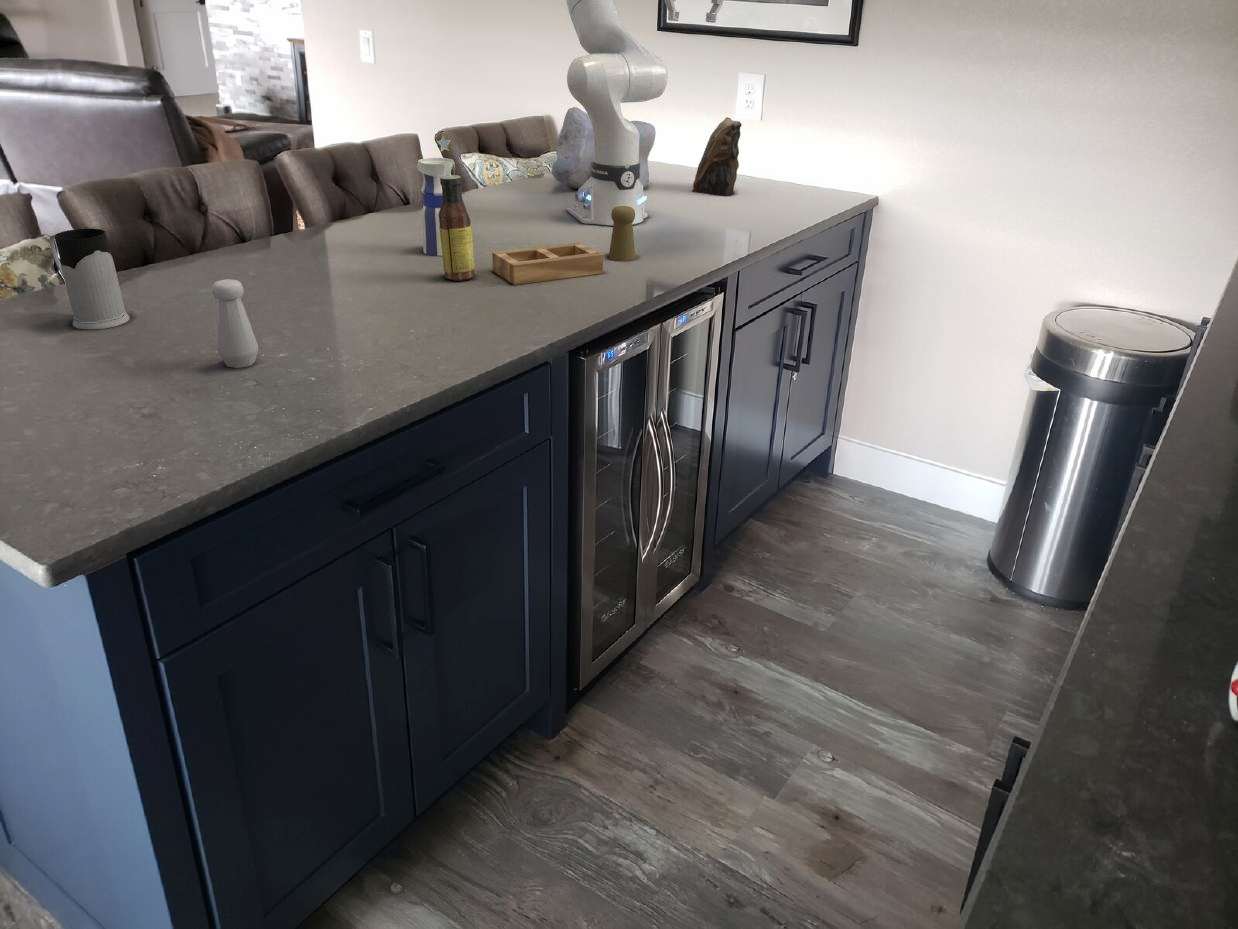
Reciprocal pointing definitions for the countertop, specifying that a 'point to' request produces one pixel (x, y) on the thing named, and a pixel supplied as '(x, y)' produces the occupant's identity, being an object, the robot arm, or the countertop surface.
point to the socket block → (547, 263)
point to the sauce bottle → (455, 231)
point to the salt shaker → (234, 326)
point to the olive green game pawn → (622, 234)
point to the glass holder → (89, 278)
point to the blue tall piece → (433, 197)
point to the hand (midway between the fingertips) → (692, 21)
